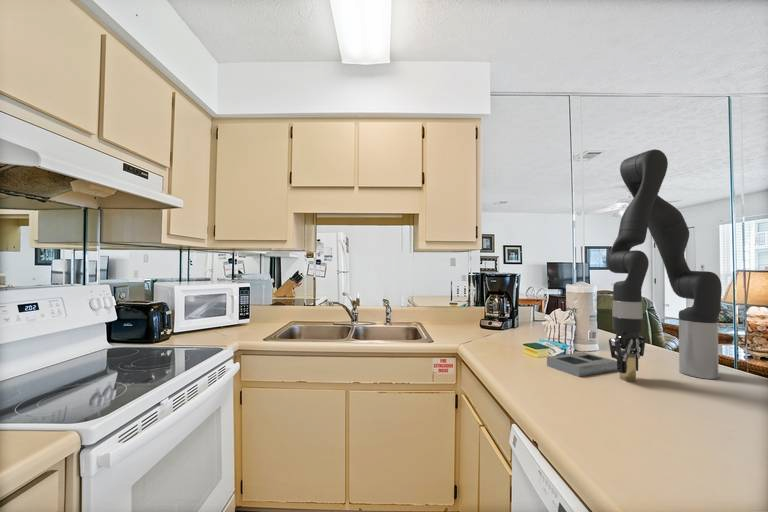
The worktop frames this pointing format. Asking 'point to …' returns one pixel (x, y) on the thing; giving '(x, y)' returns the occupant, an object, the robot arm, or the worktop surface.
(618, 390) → the worktop surface
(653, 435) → the worktop surface
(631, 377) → the gold and grey cylinder
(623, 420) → the worktop surface
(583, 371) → the grey fitting block
